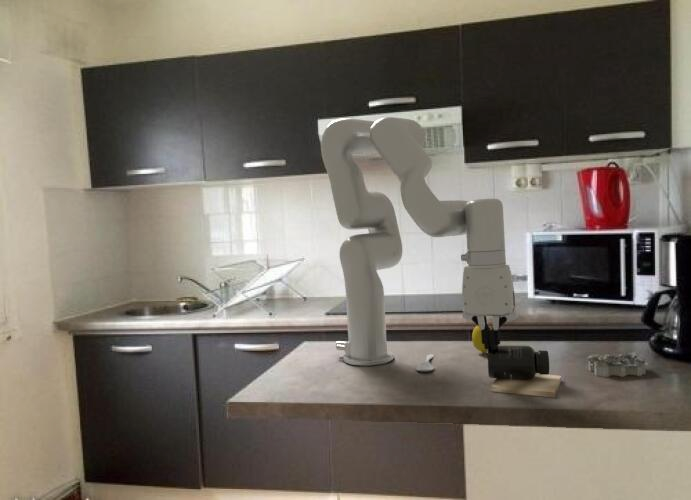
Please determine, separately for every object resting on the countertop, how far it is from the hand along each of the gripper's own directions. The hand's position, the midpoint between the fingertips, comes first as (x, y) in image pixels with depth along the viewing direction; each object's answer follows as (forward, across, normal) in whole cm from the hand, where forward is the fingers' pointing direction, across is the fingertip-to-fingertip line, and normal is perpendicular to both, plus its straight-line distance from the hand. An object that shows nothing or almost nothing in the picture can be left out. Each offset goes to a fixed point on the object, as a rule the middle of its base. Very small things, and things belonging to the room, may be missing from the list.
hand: (491, 347), depth 115 cm
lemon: (+8, -8, +24) cm, 26 cm away
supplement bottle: (+3, -1, +1) cm, 4 cm away
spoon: (+8, -18, +12) cm, 24 cm away
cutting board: (+8, +6, +1) cm, 10 cm away
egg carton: (+9, +22, +16) cm, 29 cm away
